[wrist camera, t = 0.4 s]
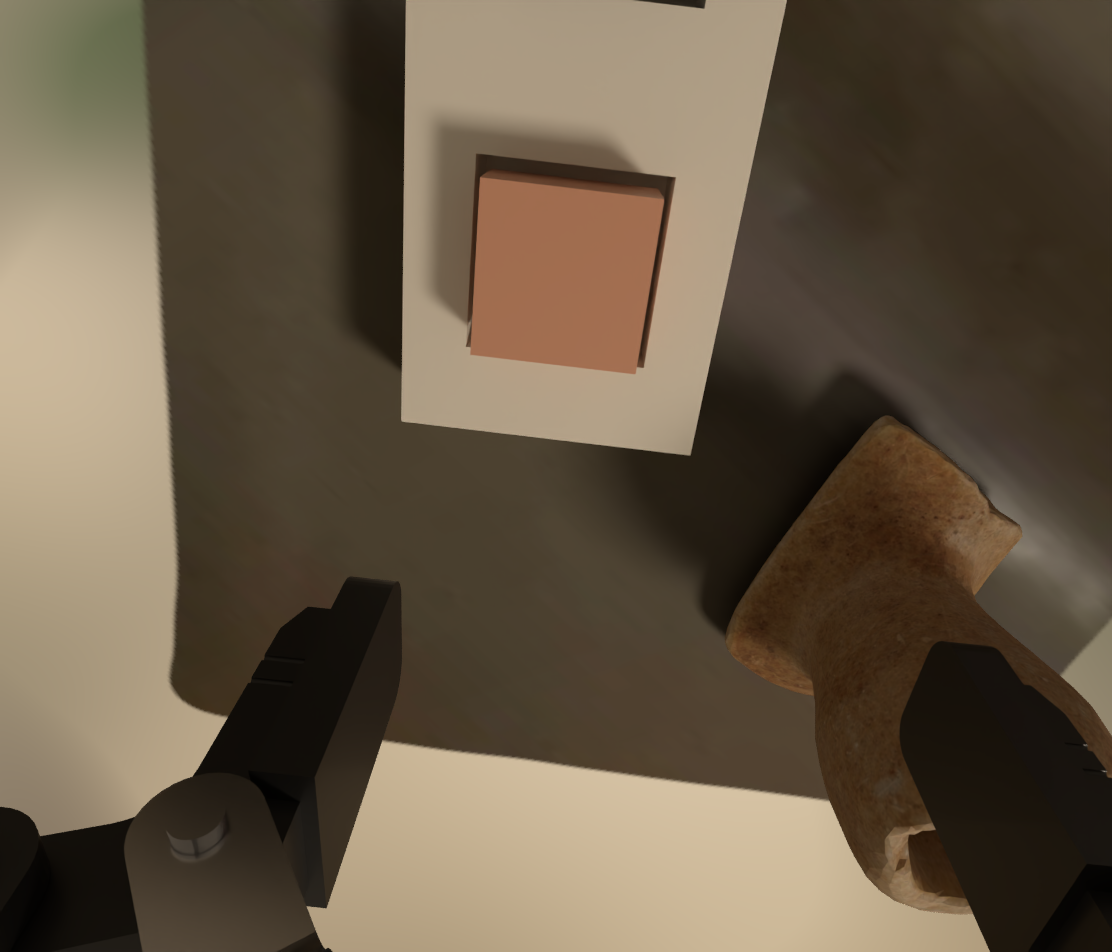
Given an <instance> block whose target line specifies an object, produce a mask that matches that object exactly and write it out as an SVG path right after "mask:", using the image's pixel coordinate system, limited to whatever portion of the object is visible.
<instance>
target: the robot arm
mask: <svg viewBox="0 0 1112 952" xmlns="http://www.w3.org/2000/svg"><path fill="white" fill-rule="evenodd" d="M401 665H402V628H401V587H400V583H399V582H398V581H388V580H379V579H370V578H360V577H348V578H347V579H346V581H345V583H344V584H343V586H342V588H341V590H340V592H339V594H338V596H337V598H336V600H335V602H334V604H333V606H332V608H331V609H325V608H316V607H307V608H306V609H304V610H303V611H302V612H300V613H299V614H298V615H297V616H295V617H294V618H293V619H292V620H290V621H289V622H288V623H286V624H285V625H284V626H283V627H281V628H280V630H279V631H278V633H277V635H276V637H275V638H274V640H273V642H272V643H271V645H270V647H269V648H268V650H267V652H266V654H265V658H264V660H261V662H260V664H259V666H258V667H257V669H256V671H255V672H254V674H253V676H252V680H251V683H248V684H247V686H246V688H245V689H244V691H243V693H242V695H241V696H240V698H239V700H238V701H237V703H236V705H235V706H234V708H233V710H232V712H231V713H230V715H229V717H228V718H227V720H226V722H225V724H224V725H223V727H222V729H221V730H220V732H219V734H218V736H217V737H216V739H215V741H214V742H213V744H212V746H211V747H210V749H209V751H208V753H207V754H206V756H205V758H204V759H203V761H202V763H201V765H200V766H199V768H198V770H197V771H196V772H195V774H194V775H193V777H190V778H187V779H184V780H182V781H180V782H177V783H175V784H173V785H171V786H170V787H168V788H166V789H164V790H163V791H161V792H160V793H159V794H157V795H156V796H155V797H153V798H152V799H151V800H150V801H149V802H148V803H147V804H146V805H145V806H144V807H143V808H142V809H141V810H140V812H139V813H138V814H137V815H136V816H135V817H133V818H130V819H128V820H124V821H121V822H117V823H112V824H107V825H102V826H96V827H90V828H84V829H79V830H73V831H68V832H62V833H56V834H51V835H46V836H40V835H39V833H38V830H37V828H36V826H35V823H34V822H33V821H32V820H31V818H30V817H29V816H27V815H26V814H24V813H23V812H21V811H18V810H15V809H12V808H5V807H0V952H332V951H331V949H329V948H327V949H324V947H323V946H322V944H321V942H320V940H319V938H318V935H317V933H316V930H315V928H314V925H313V922H312V920H311V917H310V915H309V912H308V909H307V907H306V906H311V907H320V908H327V905H328V902H329V899H330V896H331V893H332V890H333V887H334V884H335V881H336V878H337V875H338V872H339V869H340V866H341V863H342V860H343V857H344V854H345V851H346V848H347V845H348V842H349V839H350V836H351V833H352V830H353V827H354V824H355V821H356V817H357V815H358V812H359V808H360V806H361V803H362V800H363V797H364V794H365V791H366V788H367V785H368V782H369V779H370V776H371V773H372V770H373V767H374V764H375V761H376V758H377V754H378V752H379V749H380V746H381V743H382V740H383V737H384V733H385V730H386V727H387V724H388V721H389V718H390V715H391V712H392V709H393V706H394V703H395V700H396V696H397V692H398V687H399V682H400V675H401ZM899 737H900V746H901V751H902V755H903V757H904V760H905V762H906V765H907V767H908V769H909V771H910V774H911V776H912V778H913V780H914V782H915V785H916V787H917V789H918V791H919V794H920V796H921V798H922V800H923V803H924V805H925V807H926V809H927V812H928V814H929V816H930V818H931V821H932V823H933V825H934V827H935V829H936V832H937V834H938V836H939V838H940V841H941V843H942V845H943V847H944V850H945V852H946V854H947V856H948V859H949V861H950V863H951V865H952V868H953V870H954V872H955V874H956V876H957V879H958V881H959V883H960V885H961V888H962V890H963V892H964V894H965V897H966V899H967V901H968V903H969V906H970V908H971V910H972V912H973V915H974V917H975V919H976V921H977V923H978V926H979V928H980V930H981V932H982V935H983V937H984V939H985V941H986V944H987V946H988V948H989V950H990V952H1112V778H1110V777H1107V770H1106V769H1105V767H1104V766H1103V765H1102V763H1101V762H1100V761H1099V759H1098V758H1097V757H1096V755H1095V754H1094V752H1093V751H1088V748H1087V747H1088V744H1087V743H1086V742H1085V740H1084V739H1083V737H1082V736H1081V735H1080V733H1079V732H1078V731H1077V729H1076V728H1075V727H1074V725H1073V724H1072V723H1071V721H1070V720H1069V718H1068V717H1067V716H1066V714H1065V713H1064V712H1062V711H1061V710H1060V709H1059V708H1058V707H1056V706H1055V705H1054V704H1053V703H1052V702H1050V701H1049V700H1048V699H1047V698H1046V697H1044V696H1043V695H1042V694H1041V693H1040V692H1038V691H1037V690H1036V689H1035V688H1034V687H1032V686H1031V685H1024V684H1023V683H1022V682H1021V680H1020V679H1019V677H1018V676H1017V674H1016V673H1015V672H1014V670H1013V669H1012V667H1011V666H1010V664H1009V663H1008V662H1007V660H1006V659H1005V657H1004V656H1003V655H1002V653H1001V652H1000V651H999V650H998V649H996V648H994V647H992V646H985V645H975V644H966V643H956V642H947V641H939V642H937V643H935V644H934V645H933V646H932V647H931V649H930V651H929V653H928V655H927V657H926V659H925V662H924V664H923V667H922V669H921V671H920V674H919V676H918V678H917V681H916V683H915V685H914V688H913V690H912V692H911V695H910V697H909V699H908V702H907V704H906V706H905V709H904V711H903V714H902V717H901V721H900V730H899Z"/></svg>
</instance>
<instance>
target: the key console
mask: <svg viewBox="0 0 1112 952" xmlns="http://www.w3.org/2000/svg"><path fill="white" fill-rule="evenodd" d="M786 2H787V0H406V41H405V135H404V228H403V322H402V415H401V421H403V422H411V423H420V424H428V425H437V426H445V427H454V428H462V429H470V430H479V431H487V432H496V433H504V434H513V435H521V436H529V437H538V438H546V439H555V440H563V441H572V442H580V443H588V444H597V445H605V446H614V447H622V448H631V449H639V450H647V451H656V452H664V453H673V454H681V455H691V450H692V445H693V441H694V436H695V431H696V426H697V422H698V417H699V412H700V408H701V403H702V398H703V393H704V389H705V384H706V379H707V375H708V370H709V365H710V360H711V356H712V351H713V346H714V341H715V337H716V332H717V327H718V323H719V318H720V313H721V308H722V304H723V299H724V294H725V290H726V285H727V280H728V275H729V271H730V266H731V261H732V257H733V252H734V247H735V242H736V238H737V233H738V228H739V223H740V219H741V214H742V209H743V205H744V200H745V195H746V190H747V186H748V181H749V176H750V172H751V167H752V162H753V157H754V153H755V148H756V143H757V139H758V134H759V129H760V124H761V120H762V115H763V110H764V105H765V101H766V96H767V91H768V87H769V82H770V77H771V72H772V68H773V63H774V58H775V54H776V49H777V44H778V39H779V35H780V30H781V25H782V20H783V16H784V11H785V6H786ZM491 169H500V170H508V171H517V172H525V173H533V174H542V175H550V176H558V177H567V178H575V179H583V180H592V181H600V182H609V183H617V184H625V185H634V186H642V187H650V188H658V189H659V191H660V193H661V194H662V196H663V198H664V205H663V211H662V217H661V223H660V229H659V235H658V241H657V248H656V254H655V260H654V266H653V272H652V278H651V284H650V290H649V296H648V302H647V308H646V314H645V320H644V327H643V333H642V339H641V345H640V351H639V357H638V363H637V369H636V374H628V373H619V372H611V371H602V370H594V369H586V368H577V367H569V366H560V365H552V364H543V363H535V362H527V361H518V360H510V359H501V358H493V357H485V356H476V355H470V350H471V332H472V314H473V295H474V277H475V259H476V241H477V223H478V204H479V186H480V177H481V176H482V175H484V174H485V173H486V172H488V171H489V170H491Z"/></svg>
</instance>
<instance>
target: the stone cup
mask: <svg viewBox="0 0 1112 952" xmlns="http://www.w3.org/2000/svg"><path fill="white" fill-rule="evenodd" d="M1021 537H1022V530H1021V527H1020V525H1019V524H1017V523H1016V522H1015V521H1013V520H1012V519H1011V518H1009V517H1007V516H1006V515H1004V514H1003V513H1001V512H999V511H998V510H997V509H996V508H995V507H994V506H993V504H992V503H991V501H990V500H989V498H987V497H986V496H985V495H984V494H983V493H982V492H981V491H979V489H978V486H977V484H976V483H975V481H974V480H973V479H972V478H971V477H970V476H969V475H968V474H966V473H965V472H964V471H962V470H961V469H960V468H959V467H958V466H957V464H956V463H955V462H954V461H953V460H951V459H950V458H949V457H948V456H946V455H945V454H944V453H943V452H941V451H940V449H939V448H937V447H936V446H935V445H933V444H931V443H930V442H929V441H927V440H926V439H925V438H923V437H922V436H921V435H919V434H918V433H916V432H915V431H913V430H912V429H911V428H910V427H909V426H906V425H903V424H901V423H900V422H898V421H897V420H896V419H895V418H894V417H892V416H889V415H887V416H883V417H881V418H880V419H878V420H877V421H875V422H874V423H873V424H872V425H871V426H870V427H869V429H868V430H867V431H866V432H865V433H864V434H863V435H862V437H861V438H860V439H859V440H858V442H857V443H856V444H855V446H854V447H853V448H852V449H851V450H850V452H849V453H848V454H847V455H846V456H845V457H844V459H843V460H842V461H841V462H840V463H839V464H838V465H837V467H836V468H835V469H834V471H833V472H832V473H831V475H830V476H829V477H828V479H827V480H826V481H825V483H824V484H823V485H822V487H821V488H820V489H819V491H818V492H817V493H816V495H815V496H814V497H813V499H812V500H811V501H810V502H809V504H808V505H807V506H806V508H805V509H804V511H803V512H802V513H801V515H800V516H799V517H798V518H797V519H796V521H795V522H794V523H793V525H792V526H791V527H790V529H789V530H788V531H787V533H786V534H785V536H784V537H783V538H782V540H781V541H780V542H779V544H778V545H777V546H776V548H775V549H774V550H773V552H772V553H771V555H770V556H769V558H768V559H767V560H766V562H765V563H764V565H763V566H762V568H761V569H760V571H759V572H758V574H757V575H756V577H755V578H754V580H753V581H752V583H751V585H750V586H749V588H748V589H747V591H746V592H745V594H744V595H743V597H742V599H741V600H740V602H739V603H738V605H737V607H736V609H735V611H734V613H733V615H732V618H731V620H730V622H729V625H728V627H727V631H726V635H725V643H726V646H727V649H728V650H729V652H730V653H731V654H732V655H733V657H734V658H735V659H736V660H738V661H739V662H741V663H742V664H743V665H745V666H746V667H747V668H749V669H750V670H751V671H753V672H754V673H756V674H757V675H759V676H761V677H762V678H764V679H766V680H768V681H770V682H772V683H774V684H776V685H779V686H781V687H784V688H786V689H789V690H792V691H795V692H798V693H802V694H807V695H812V696H814V699H815V716H816V717H815V740H816V746H817V752H818V757H819V763H820V767H821V772H822V776H823V780H824V784H825V787H826V791H827V794H828V797H829V800H830V803H831V805H832V807H833V810H834V812H835V814H836V817H837V819H838V821H839V824H840V826H841V828H842V831H843V833H844V835H845V837H846V840H847V842H848V844H849V847H850V849H851V850H852V853H853V854H854V857H855V858H856V860H857V862H858V863H859V865H860V867H861V868H862V870H863V871H864V873H865V875H866V877H867V878H868V879H869V880H870V881H871V882H872V883H873V884H874V885H875V886H876V887H877V888H878V889H879V890H880V891H881V892H883V893H884V894H886V895H887V896H889V897H890V898H891V899H893V900H894V901H897V902H899V903H902V904H905V905H908V906H911V907H913V908H916V909H919V910H923V911H930V912H938V913H949V914H973V912H972V910H971V908H970V906H969V903H968V901H967V899H966V897H965V894H964V892H963V890H962V888H961V885H960V883H959V881H958V879H957V876H956V874H955V872H954V870H953V868H952V865H951V863H950V861H949V859H948V856H947V854H946V852H945V850H944V847H943V845H942V843H941V841H940V838H939V836H938V834H937V832H936V829H935V827H934V825H933V823H932V821H931V818H930V816H929V814H928V812H927V809H926V807H925V805H924V803H923V800H922V798H921V796H920V794H919V791H918V789H917V787H916V785H915V782H914V780H913V778H912V776H911V774H910V771H909V769H908V767H907V765H906V762H905V760H904V757H903V755H902V751H901V746H900V737H899V730H900V721H901V717H902V714H903V711H904V709H905V706H906V704H907V702H908V699H909V697H910V695H911V692H912V690H913V688H914V685H915V683H916V681H917V678H918V676H919V674H920V671H921V669H922V667H923V664H924V662H925V659H926V657H927V655H928V653H929V651H930V649H931V647H932V646H933V645H934V644H935V643H937V642H939V641H947V642H956V643H966V644H975V645H985V646H992V647H994V648H996V649H998V650H999V651H1000V652H1001V653H1002V655H1003V656H1004V657H1005V659H1006V660H1007V662H1008V663H1009V664H1010V666H1011V667H1012V669H1013V670H1014V672H1015V673H1016V674H1017V676H1018V677H1019V679H1020V680H1021V682H1022V683H1023V684H1024V685H1031V686H1032V687H1034V688H1035V689H1036V690H1037V691H1038V692H1040V693H1041V694H1042V695H1043V696H1044V697H1046V698H1047V699H1048V700H1049V701H1050V702H1052V703H1053V704H1054V705H1055V706H1056V707H1058V708H1059V709H1060V710H1061V711H1062V712H1064V713H1065V714H1066V716H1067V717H1068V718H1069V720H1070V721H1071V723H1072V724H1073V725H1074V727H1075V728H1076V729H1077V731H1078V732H1079V733H1080V735H1081V736H1082V737H1083V739H1084V740H1085V742H1086V743H1087V744H1088V747H1087V748H1088V751H1093V752H1094V754H1095V755H1096V757H1097V758H1098V759H1099V761H1100V762H1101V763H1102V765H1103V766H1104V767H1105V769H1106V770H1107V777H1110V778H1112V736H1111V734H1110V733H1109V731H1108V730H1107V728H1106V727H1105V725H1104V724H1103V722H1102V721H1101V719H1100V718H1099V716H1098V715H1097V713H1096V712H1095V710H1094V709H1093V708H1092V706H1091V705H1090V704H1089V703H1088V702H1087V701H1086V700H1085V699H1084V698H1083V697H1082V696H1081V695H1080V694H1079V693H1078V692H1077V691H1076V690H1075V689H1074V688H1073V687H1072V686H1071V685H1070V684H1069V683H1067V682H1066V681H1065V680H1064V679H1063V678H1062V677H1061V676H1060V675H1058V674H1057V673H1056V672H1055V671H1054V670H1052V669H1051V668H1050V667H1049V666H1048V665H1046V664H1045V663H1044V662H1043V661H1042V660H1041V659H1039V658H1038V657H1037V656H1036V655H1035V654H1034V653H1032V652H1031V651H1030V650H1029V649H1028V648H1026V647H1025V646H1024V645H1023V644H1021V643H1020V642H1019V641H1018V640H1017V639H1015V638H1014V637H1013V636H1012V635H1011V634H1009V633H1008V632H1007V631H1006V630H1005V629H1004V628H1002V627H1001V626H1000V625H999V624H998V623H997V622H996V621H995V620H994V619H992V618H991V617H990V616H989V615H988V614H987V613H986V612H985V611H984V610H983V609H982V608H981V607H980V605H979V604H978V603H977V602H976V600H975V597H974V595H975V594H976V593H977V592H978V590H979V589H980V588H981V586H982V585H983V583H984V582H985V580H986V579H987V578H988V576H989V575H990V574H991V573H992V571H993V570H994V569H995V568H996V567H997V565H998V564H999V563H1000V562H1001V561H1002V560H1003V558H1004V557H1005V556H1006V555H1007V554H1008V552H1009V551H1010V550H1011V549H1012V548H1013V547H1014V545H1015V544H1016V543H1017V542H1018V541H1019V540H1020V539H1021Z"/></svg>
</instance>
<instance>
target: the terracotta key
mask: <svg viewBox="0 0 1112 952" xmlns="http://www.w3.org/2000/svg"><path fill="white" fill-rule="evenodd" d="M663 205H664V198H663V196H662V194H661V193H660V191H659V189H658V188H650V187H642V186H634V185H625V184H617V183H609V182H600V181H592V180H583V179H575V178H567V177H558V176H550V175H542V174H533V173H525V172H517V171H508V170H500V169H491V170H489V171H488V172H486V173H485V174H484V175H482V176H481V177H480V186H479V204H478V223H477V241H476V259H475V277H474V295H473V314H472V332H471V350H470V355H476V356H485V357H493V358H501V359H510V360H518V361H527V362H535V363H543V364H552V365H560V366H569V367H577V368H586V369H594V370H602V371H611V372H619V373H628V374H636V369H637V363H638V357H639V351H640V345H641V339H642V333H643V327H644V320H645V314H646V308H647V302H648V296H649V290H650V284H651V278H652V272H653V266H654V260H655V254H656V248H657V241H658V235H659V229H660V223H661V217H662V211H663Z"/></svg>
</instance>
